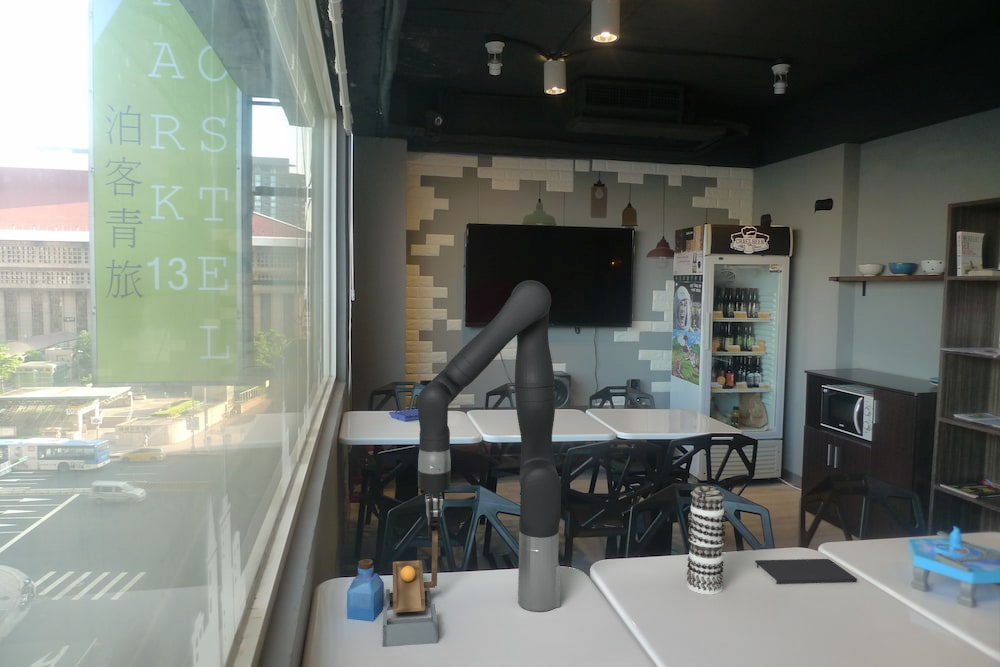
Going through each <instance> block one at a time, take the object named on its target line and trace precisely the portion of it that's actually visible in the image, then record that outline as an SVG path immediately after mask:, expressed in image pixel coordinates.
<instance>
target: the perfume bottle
mask: <svg viewBox="0 0 1000 667" xmlns="http://www.w3.org/2000/svg"><path fill="white" fill-rule="evenodd" d="M373 562H374V561H373V560H372V559H370V558H365V559H364V558H363V559H361V560H358V567H357V574H356V576H355V577H354V578H353V579H352V581H351V583H350V585H349V586H348V588H347V591H346V619H347V620H354V621H355V620H356V621H363V622H373V623H374V622H375V621H376V620H377V619H378V617H379V615H380V614H381V613H383V611H382V610H383V607H385V603H384V602H385V593H384V592H385V583H384V581H383V579H382V578H381V577H380V575H379V574H378V573H375V572H374V570H375V569H374V565H373Z"/></svg>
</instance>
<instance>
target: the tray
mask: <svg viewBox="0 0 1000 667" xmlns="http://www.w3.org/2000/svg"><path fill="white" fill-rule="evenodd" d="M436 608H437V607H436V603H430V609H431V610H430V617H415V618H414V617H413V618H398V619H388V610H387V606H386V605H385V606H384V607H383V611H382V647H383V648H384V647H396V646H397V647H399V646H410V645H411V646H412V645H414V646H415V645H426V644H438V640H439V639H438V636H439V635H438V634H439V633H438V628H439V627H438V625H439V624H438V615H437V610H436Z"/></svg>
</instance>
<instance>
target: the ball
mask: <svg viewBox="0 0 1000 667" xmlns="http://www.w3.org/2000/svg"><path fill="white" fill-rule="evenodd" d="M415 575H416V572H415V569H414V568H413V567H411V566H405V567H403V568H402V570H401V572H400V576H401V579H402V580H403V581H405V582H410V581H412V580H413V579H414V578H415Z"/></svg>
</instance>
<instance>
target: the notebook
mask: <svg viewBox="0 0 1000 667" xmlns="http://www.w3.org/2000/svg"><path fill="white" fill-rule="evenodd" d="M754 563H755V567H756V568H757V569H759V570H760V571H762V572H763V573H764V574H765V575H766V576H767V577H769V578H770V579H771V580H772V581H773V582H774V583H776V584H775V585H798V584H799V585H800V584H801V585H802V584H805V585H806V584H834V583H835V584H836V583H838V584H839V583H857V582H858V579H857V577H855V576H854V575H853V574H851V573H850V572H849V571H847V570H846V569H844V568H842V567H841V566H840V565H839V564H838V563H835V561H833V560H832V559H829V558H811V559H810V558H807V559H805V558H804V559H802V558H801V559H799V558H798V559H757V560H754Z"/></svg>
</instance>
